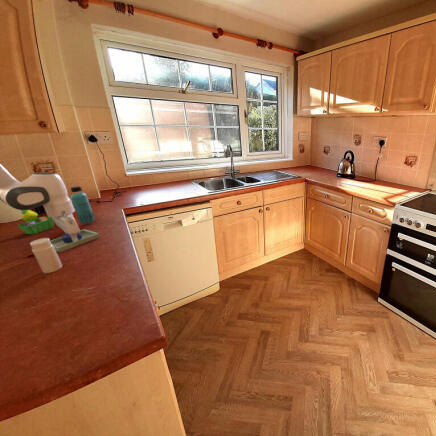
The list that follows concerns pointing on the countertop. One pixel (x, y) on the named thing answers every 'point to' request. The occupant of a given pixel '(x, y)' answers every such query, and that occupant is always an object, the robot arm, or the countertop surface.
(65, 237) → the jar lid
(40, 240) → the jam jar
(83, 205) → the beverage bottle
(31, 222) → the fruit basket
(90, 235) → the serving tray
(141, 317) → the countertop surface
